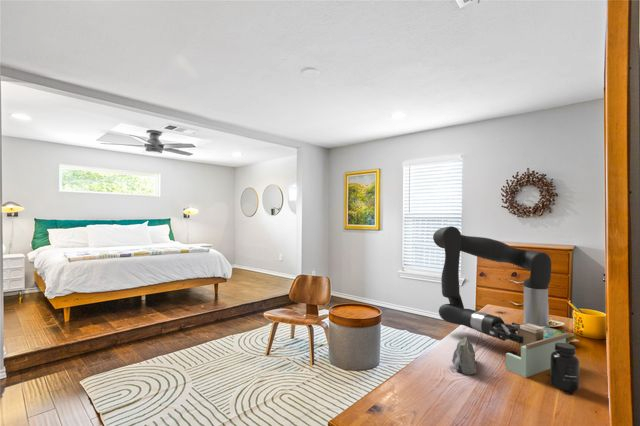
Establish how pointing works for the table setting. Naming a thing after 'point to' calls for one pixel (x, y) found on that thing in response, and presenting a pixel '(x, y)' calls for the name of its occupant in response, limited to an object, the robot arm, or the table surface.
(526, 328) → the brown wooden block
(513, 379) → the table surface
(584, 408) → the table surface
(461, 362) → the mineral rock
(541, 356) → the mint green shelf
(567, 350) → the supplement bottle
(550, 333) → the puzzle game
